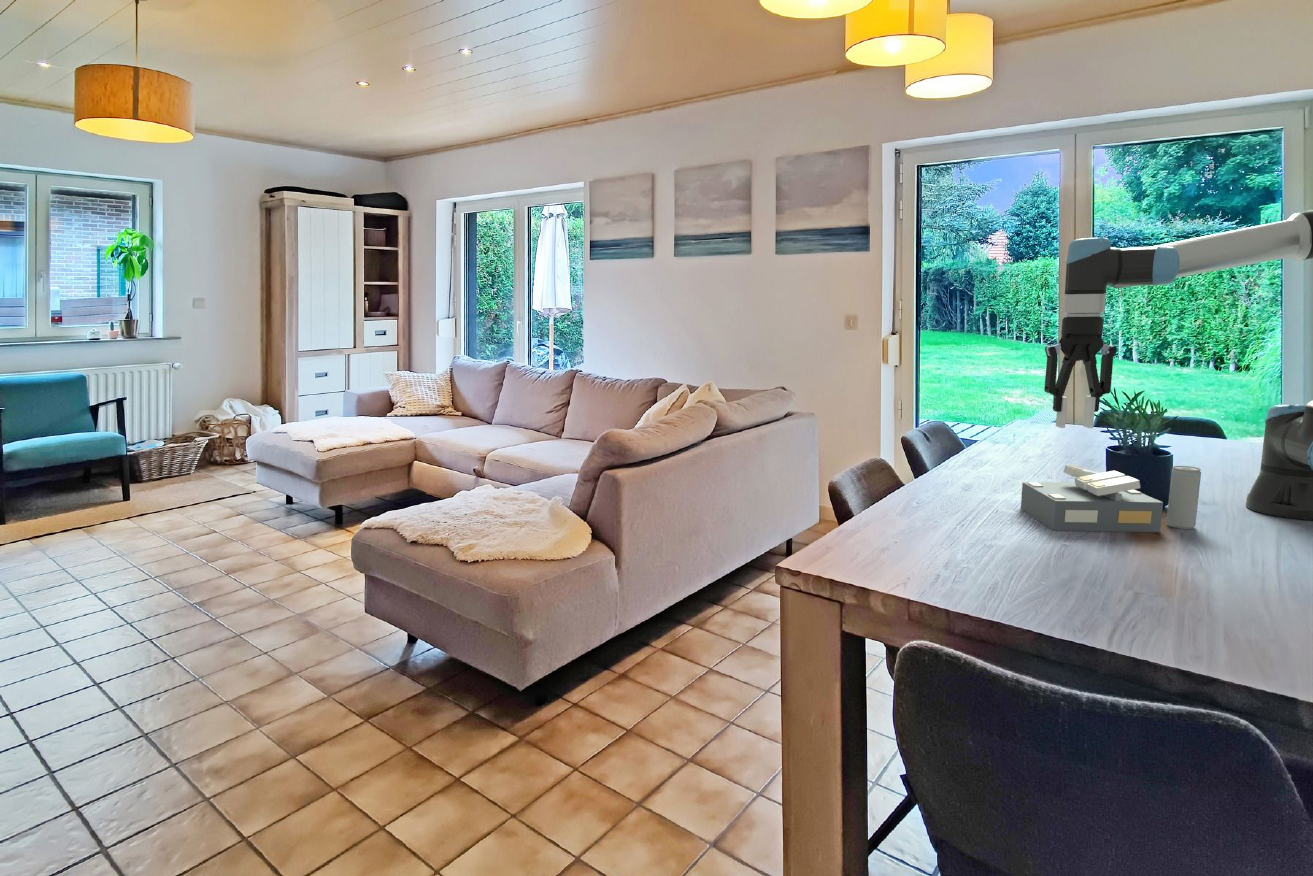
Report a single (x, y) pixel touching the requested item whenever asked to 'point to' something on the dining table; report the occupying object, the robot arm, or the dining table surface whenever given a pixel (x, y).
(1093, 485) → the plate
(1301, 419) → the robot arm
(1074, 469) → the rocker
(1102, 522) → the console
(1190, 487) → the beverage can
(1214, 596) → the dining table surface
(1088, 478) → the rocker
